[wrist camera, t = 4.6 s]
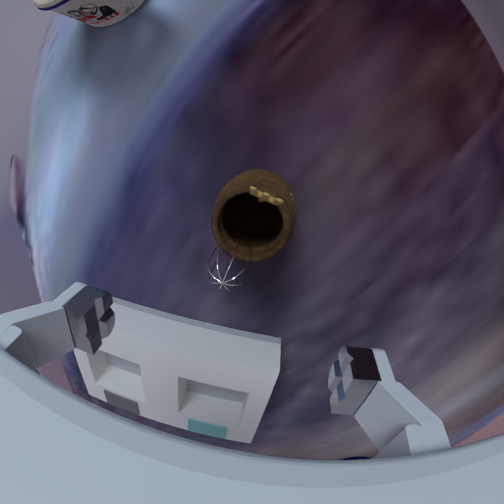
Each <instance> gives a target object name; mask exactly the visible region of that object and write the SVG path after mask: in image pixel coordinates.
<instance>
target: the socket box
mask: <svg viewBox="0 0 504 504" xmlns="http://www.w3.org/2000/svg"><path fill="white" fill-rule="evenodd" d="M112 299H113V304H112V305H111V308H112V310H113V311H114V313H115V325H114V328H113V330H112V332H111V334H110V335H109V336H108V337H106V338H103V339H102V345H101V346H100V348H99V349H98V350H97V352H96V353H95V354H94V355H92V354H89V353H87V352H84V351H82V350H79V349H77V348H75V349H74V353H75V356H76V359H77V362H78V365H79V368H80V371H81V374H82V376H83V379H84V382H85V384H86V387H87V390H88V392H89V394H90V395H92V396H94V397H96V398H98V399H101V400H103V401H105V402H108V403H109V404H112V405H114V406H117V407H119V408H122V409H124V410H127V411H129V412H132V413H135V414H137V415H141V416H144V417H146V418H149V419H152V420H155V421H158V422H161V423H165V424H168V425H171V426H175V427H178V428H182V429H185V430H188V431H192V432H196V433H200V434H204V435H208V436H212V437H217V438H222V439H228V440H233V441H239V442H244V443H250V444H251V441H252V439H253V437H254V434H255V432H256V430H257V427H258V425H259V423H260V420H261V418H262V415H263V413H264V410H265V408H266V405H267V403H268V400H269V398H270V395H271V393H272V390H273V388H274V385H275V383H276V380H277V377H278V375H279V372H280V354H281V338H278V337H272V336H267V335H262V334H257V333H252V332H247V331H242V330H237V329H232V328H228V327H223V326H219V325H214V324H210V323H206V322H202V321H198V320H193V319H189V318H185V317H182V316H178V315H174V314H170V313H166V312H163V311H159V310H155V309H152V308H148V307H145V306H141V305H138V304H134V303H131V302H128V301H125V300H121V299H118V298H115V297H112Z"/></svg>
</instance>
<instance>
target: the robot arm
mask: <svg viewBox="0 0 504 504" xmlns="http://www.w3.org/2000/svg"><path fill="white" fill-rule="evenodd" d="M112 304H113V299H112V295H111V294H110V293H109V292H106V291H103V290H100V289H98V288H95V287H92V286H89V285H86V284H83V283H81V282H75V283H74V284H73V285H72V286H70V287H69V288H68V289H67V290H66V291H64V292H63V293H62V294H61V295H60V296H58V297H57V298H56V299H55V300H54V301H53V302H50V301H48V302H44V303H40V304H37V305H33V306H30V307H26V308H22V309H18V310H15V311H11V312H7V313H4V314H0V504H504V433H502V434H499V435H496V436H493V437H490V438H487V439H483V440H480V441H477V442H473V443H470V444H466V445H462V446H458V447H454V448H451V447H450V443H449V440H448V437H447V434H446V431H445V428H444V425H443V422H442V420H440V419H439V418H438V417H437V416H436V415H435V414H434V413H433V412H432V411H431V410H429V409H428V408H427V407H426V406H425V405H424V404H423V403H422V402H421V401H419V400H418V399H417V398H416V397H415V396H414V395H413V394H412V393H411V392H410V391H408V390H407V389H406V388H405V387H404V386H403V385H402V384H401V383H400V382H396V381H395V378H394V375H393V372H392V370H391V367H390V364H389V361H388V358H387V356H386V353H385V351H384V350H383V349H374V348H370V349H369V348H361V347H352V346H344V345H343V346H342V348H341V349H340V351H339V353H338V357H339V360H337V361H336V362H334V363H333V365H332V367H331V370H330V374H329V380H328V385H329V389H330V390H331V391H332V392H333V394H332V395H331V397H330V405H331V413H335V414H347V415H354V417H355V419H356V420H357V421H358V423H359V424H360V426H361V427H362V428H363V430H364V431H365V433H366V434H367V435H368V437H369V438H370V440H371V441H372V442H373V444H374V445H375V446H376V448H377V449H378V451H379V453H378V454H377V455H376V456H375V457H374V458H372V459H363V460H318V459H300V458H288V457H278V456H270V455H262V454H256V453H249V452H243V451H238V450H232V449H227V448H223V447H218V446H213V445H209V444H205V443H201V442H197V441H193V440H189V439H186V438H182V437H179V436H175V435H172V434H169V433H166V432H163V431H160V430H157V429H154V428H151V427H148V426H145V425H142V424H140V423H137V422H134V421H132V420H129V419H127V418H124V417H122V416H119V415H117V414H115V413H112V412H110V411H108V410H105V409H103V408H101V407H99V406H97V405H95V404H93V403H90V402H88V401H86V400H84V399H82V398H80V397H78V396H77V395H75V394H73V393H71V392H69V391H67V390H65V389H64V388H61V387H60V386H58V385H56V384H55V383H53V382H51V381H50V380H48V379H46V378H45V377H43V376H41V374H40V372H39V370H38V367H40V366H42V365H44V364H46V363H48V362H50V361H52V360H54V359H56V358H58V357H60V356H62V355H64V354H66V353H68V352H70V351H72V350H74V349H75V348H77V349H79V350H82V351H84V352H87V353H89V354H92V355H94V354H95V353H96V352H97V350H98V349H99V348H100V346H101V345H102V339H103V338H106V337H108V336H109V335H110V334H111V332H112V330H113V328H114V325H115V313H114V311H113V310H112V308H111V305H112Z"/></svg>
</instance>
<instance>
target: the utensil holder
mask: <svg viewBox="0 0 504 504" xmlns="http://www.w3.org/2000/svg"><path fill="white" fill-rule="evenodd" d="M295 217H296V209H295V202H294V197H293V194H292V191H291V189H290V187H289V185H288V184H287V183H286V181H285V180H284V179H283V178H282V177H280V176H279V175H277V174H276V173H274V172H272V171H269V170H265V169H251V170H247V171H244V172H242V173H240V174H238V175H237V176H235V177H234V178H233V179H231V180H230V181H229V182H228V183H227V184H226V185H225V186H224V187H223V188H222V190H221V191H220V193H219V194H218V196H217V199H216V201H215V205H214V208H213V211H212V216H211V229H212V233H213V236H214V238H215V240H216V242H217V244H218V246H219V247H220V248H221V249H222V250H223V251H224V252H225V253H227V254H228V255H229V256H231V257H232V260H231V262H230V264H229V266H228V269H227V271H226V273H225V276H224V278H223V280H221V278H220V280H221V281H219V280H218V279H216V278H215V277H214V276H213V275H212V274H211V273H212V271H213V269H212V271H211V272H210V270H209V272H210V275H212V276H213V277H214V278H215V279H216V280H218V281H219V282H220V283H221V285H220V288H221V286H222V283H223V285H224V284H226V283H224V282H223V281H224V279H225V277H226V274H227V272H228V270H229V268H230V265H231V263H232V261H233V258H235V259H238V260H241V261H242V267H243V261H245V262H247V263H248V262H251V264H252V262H259V261H263V260H266V259H269V258H271V257H272V256H274V255H276V254H277V253H278V252H279V251H280V250H281V249H282V248H283V246H284V245H285V243H286V242H287V240H288V238H289V236H290V234H291V232H292V229H293V227H294V223H295ZM218 246H217V247H218ZM217 247H216V248H217ZM221 249H220V251H221ZM215 250H216V249H215ZM215 250H214V251H215ZM220 251H219V253H220ZM224 252H223V253H224ZM213 253H214V252H213ZM213 253H212V255H213ZM219 253H218V256H219ZM223 253H222V254H223ZM222 254H221V255H222ZM212 255H211V257H212ZM221 255H220V256H221ZM218 256H217V261H216V262H217V270H218V259H219V258H220V257H219V258H218ZM210 259H211V258H210ZM209 262H210V260H209ZM209 262H208V269H209ZM247 263H246V265H247ZM215 264H216V263H215ZM215 264H214V266H215ZM214 266H213V268H214ZM245 268H246V266H245ZM245 268H244V269H245ZM250 268H251V265H250ZM244 269H243V270H244ZM243 270H242V268H241V272H240V273H239V274H240V275H241V273H242V272H243ZM249 271H250V269H249ZM239 274H238V275H239ZM248 274H249V272H248ZM248 274H247V277H248ZM218 275H219V271H218ZM238 275H237V276H238ZM237 276H235V277H237ZM219 277H220V275H219ZM235 277H234V278H235ZM247 277H246V279H247ZM234 278H232V279H234ZM239 278H240V276H239ZM209 279H210V276H209ZM232 279H230V280H232ZM246 279H245V280H246ZM230 280H228V281H230ZM245 280H244V281H243V282H242V283H244V282H245ZM210 281H211V280H210ZM238 281H239V279H238ZM238 281H237V283H238ZM211 282H212V281H211ZM225 282H227V281H225ZM212 283H214V282H212ZM237 283H236V285H240V284H242V283H240V284H237ZM215 284H219V283H215ZM227 285H230V284H227ZM236 285H231V286H235V287H236ZM224 286H225V285H224ZM235 287H234V289H235ZM220 288H219V289H220ZM225 288H226V289H228V288H227V287H226V286H225ZM234 289H232V290H234ZM228 290H230V289H228Z"/></svg>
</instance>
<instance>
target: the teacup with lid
mask: <svg viewBox="0 0 504 504" xmlns="http://www.w3.org/2000/svg"><path fill="white" fill-rule="evenodd" d="M144 1H145V0H33V2H34V4H35V5H36V6H37V8H38V9H40V10H52V11H55V12H58V13H60V14H63V15H66V16H69V17H71V18H74V19H76V20H79V21H81V22H84V23H86V24H89V25H91V26H94V27H106V26H110V25H113V24H115V23H117V22H119V21H121V20H123V19H125V18H126V17H128V16H129V15H131V14H132V13H133V12H134V11H135V10H136V9H138V8H139V7H140V6H141V4H142V3H143V2H144Z"/></svg>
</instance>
